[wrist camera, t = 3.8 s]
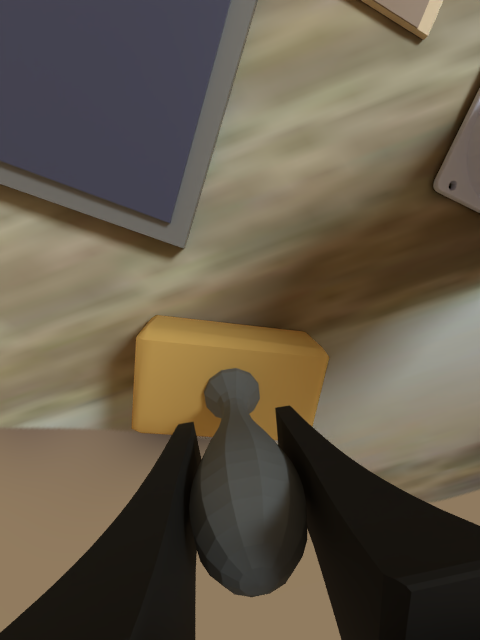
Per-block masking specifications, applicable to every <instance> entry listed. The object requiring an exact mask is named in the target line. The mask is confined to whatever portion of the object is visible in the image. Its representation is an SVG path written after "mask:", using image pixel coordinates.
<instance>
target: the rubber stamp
mask: <svg viewBox="0 0 480 640" xmlns="http://www.w3.org/2000/svg"><path fill="white" fill-rule="evenodd" d="M328 360H329V356H328V355H327V353H326V352H325V351H324V349H323V348H322V347H321V346H320V345H319V344H318V343H317V342H316V341H315V340H313V339H312V338H311V337H310V336H309V335H308V334H307V333H306V332H303V331H294V330H285V329H277V328H268V327H259V326H250V325H241V324H232V323H223V322H214V321H205V320H196V319H187V318H178V317H169V316H161V315H156V316H154V317H153V318H151V319H150V321H149V322H148V323H147V324H146V326H145V327H144V328H143V329H142V330H141V332H140V333H139V334H138V335H137V337H136V351H135V371H134V390H133V410H132V429H134V430H136V431H138V432H140V433H152V434H171V435H172V434H173V432H174V430H175V428H176V427H177V425H178V424H182V423H188V422H194V426H195V431H196V436H208V437H213V438H212V439H211V441H210V443H209V445H208V447H207V449H206V451H205V454H204V456H203V458H202V460H201V462H200V464H199V467H198V469H197V471H196V474H195V477H194V480H193V484H192V488H191V492H190V503H189V510H190V521H191V527H192V531H193V536H194V540H195V545H196V548H197V551H198V555H199V558H200V561H201V563H202V564H203V566H204V567H205V569H206V570H207V572H208V573H209V575H210V576H211V577H213V578H214V579H215V580H216V581H218V582H219V583H220V584H221V585H223V586H224V587H225V588H227V589H228V590H229V591H231V592H232V593H234V594H236V595H242V596H248V597H255V596H259V595H264V594H269V593H271V592H273V591H274V590H276V589H277V588H279V587H280V586H282V585H283V584H285V583H286V581H287V580H288V578H289V577H290V576H291V574H292V573H293V571H294V569H295V568H296V566H297V564H298V563H299V561H300V560H301V558H302V556H303V553H304V549H305V545H306V542H307V512H306V500H305V494H304V489H303V485H302V482H301V480H300V477H299V474H298V472H297V470H296V469H295V467H294V465H293V463H292V462H291V460H290V459H289V458H288V456H287V455H286V454H285V453H284V451H283V450H282V449H281V448H280V447H279V446H278V445H277V444H276V442H275V441H274V440H278V435H277V424H276V412H275V408H277V407H283V406H289V405H290V406H291V407H292V408H293V409H294V410H295V411H296V412H297V413H298V414H299V415H300V416H301V417H302V418H303V419H304V420H305V421H306V422H308V423H309V424H310V425H311V426H313V421H314V417H315V413H316V409H317V405H318V401H319V397H320V393H321V389H322V385H323V381H324V377H325V373H326V369H327V365H328Z"/></svg>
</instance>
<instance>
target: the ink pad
mask: <svg viewBox="0 0 480 640" xmlns="http://www.w3.org/2000/svg"><path fill="white" fill-rule="evenodd" d="M257 1H258V0H0V184H2V185H5V186H8V187H11V188H13V189H16V190H19V191H22V192H25V193H28V194H30V195H33V196H36V197H39V198H42V199H45V200H47V201H50V202H53V203H56V204H59V205H62V206H64V207H67V208H70V209H73V210H76V211H79V212H81V213H84V214H87V215H90V216H93V217H96V218H98V219H101V220H104V221H107V222H110V223H113V224H116V225H118V226H121V227H124V228H127V229H130V230H133V231H135V232H138V233H141V234H144V235H147V236H150V237H152V238H155V239H158V240H161V241H164V242H167V243H169V244H172V245H175V246H178V247H181V248H185V246H186V243H187V239H188V236H189V233H190V229H191V226H192V222H193V219H194V216H195V212H196V209H197V205H198V202H199V199H200V195H201V192H202V188H203V185H204V182H205V178H206V175H207V171H208V168H209V164H210V161H211V158H212V154H213V151H214V147H215V144H216V141H217V137H218V134H219V130H220V127H221V124H222V120H223V117H224V113H225V110H226V107H227V103H228V100H229V96H230V93H231V90H232V86H233V83H234V79H235V76H236V72H237V69H238V66H239V62H240V59H241V55H242V52H243V49H244V45H245V42H246V38H247V35H248V32H249V28H250V25H251V21H252V18H253V15H254V11H255V8H256V4H257Z"/></svg>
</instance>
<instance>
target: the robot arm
mask: <svg viewBox="0 0 480 640" xmlns="http://www.w3.org/2000/svg"><path fill="white" fill-rule="evenodd" d="M450 183H451V189H449V184H450ZM433 187H434V190H435V191H436V192H438V193H440V194H442V195H444V196H446V197H448V198H450V199H452V200H454V201H456V202H458V203H460V204H462V205H464V206H466V207H468V208H470V209H472V210H474V211H476V212H478V213H480V88H479V90H478V92H477V95H476V97H475V99H474V101H473V103H472V105H471V107H470V109H469V111H468V113H467V115H466V117H465V119H464V121H463V123H462V125H461V127H460V129H459V131H458V133H457V135H456V137H455V139H454V141H453V143H452V145H451V148H450V150H449V152H448V154H447V156H446V158H445V160H444V162H443V164H442V166H441V168H440V170H439V172H438V174H437V176H436V178H435V180H434V183H433ZM275 412H276V424H277V435H278V446H279V447H280V448H281V449H282V450H283V451H284V453H285V454H286V455H287V456H288V458H289V459H290V460H291V462H292V463H293V465H294V467H295V469H296V470H297V472H298V474H299V477H300V480H301V482H302V485H303V489H304V494H305V500H306V512H307V529H308V531H309V534H310V537H311V540H312V542H313V545H314V548H315V552H316V555H317V558H318V561H319V565H320V568H321V571H322V574H323V578H324V581H325V585H326V588H327V591H328V595H329V598H330V601H331V605H332V608H333V612H334V615H335V619H336V622H337V626H338V629H339V633H340V636H341V640H480V526H478V525H476V524H474V523H472V522H469V521H467V520H465V519H462V518H460V517H457V516H455V515H453V514H450V513H448V512H446V511H443V510H441V509H439V508H437V507H435V506H433V505H431V504H429V503H427V502H425V501H422V500H420V499H418V498H416V497H414V496H412V495H411V494H409V493H407V492H405V491H403V490H401V489H399V488H397V487H396V486H394V485H392V484H390V483H389V482H387V481H385V480H383V479H382V478H380V477H378V476H377V475H375V474H373V473H372V472H370V471H369V470H367V469H366V468H364V467H363V466H361V465H360V464H358V463H357V462H355V461H354V460H352V459H351V458H349V457H348V456H347V455H345V454H344V453H343V452H342V451H340V450H339V449H338V448H336V447H335V446H334V445H333V444H331V443H330V442H329V441H328V440H327V439H325V438H324V437H323V436H322V435H321V434H320V433H318V432H317V431H316V430H315V429H314V428H313V427H312V426H311V425H310V424H309V423H308V422H306V421H305V420H304V419H303V418H302V417H301V416H300V415H299V414H298V413H297V412H296V411H295V410H294V409H293V408H292V407H291V406H290V405H289V406H283V407H277V408H275ZM200 462H201V456H200V451H199V446H198V441H197V436H196V431H195V426H194V422H188V423H182V424H178V425H177V427H176V428H175V430H174V432H173V434H172V436H171V438H170V440H169V442H168V443H167V445H166V447H165V449H164V450H163V452H162V454H161V455H160V457H159V459H158V460H157V462H156V464H155V465H154V467H153V468H152V470H151V472H150V473H149V474H148V476H147V477H146V479H145V480H144V482H143V483H142V485H141V486H140V488H139V489H138V491H137V492H136V493H135V495H134V496H133V497H132V499H131V500H130V501H129V503H128V504H127V505H126V507H125V508H124V509H123V510H122V512H121V513H120V514H119V515H118V517H117V518H116V519H115V520H114V522H113V523H112V524H111V525H110V526H109V527H108V529H107V530H106V531H105V532H104V533H103V534H102V536H100V538H99V539H98V540H97V541H96V542H95V543H94V544H93V546H92V547H91V548H90V549H89V550H88V551H87V552H86V553H85V554H84V555H83V556H82V557H81V558H80V559H79V560H78V561H77V562H76V563H75V564H74V565H73V566H72V567H71V568H70V569H69V570H68V571H67V572H66V573H65V574H64V575H63V576H62V577H61V578H60V579H59V580H58V581H57V582H56V583H55V584H54V585H53V586H52V587H51V588H50V589H48V590H47V591H46V592H45V593H44V594H43V595H42V596H41V597H40V598H39V599H38V600H37V601H35V602H34V603H33V604H32V605H31V606H30V607H29V608H28V609H26V610H25V612H23V613H22V614H21V615H20V616H19V617H18V618H17V619H15V620H14V621H13V622H12V623H11V624H10V625H9V626H7V627H6V628H5V629H4V630H3V631H2V632H1V633H0V640H195V581H196V577H195V576H196V574H195V572H196V553H197V548H196V545H195V540H194V536H193V531H192V527H191V521H190V510H189V503H190V492H191V488H192V484H193V480H194V477H195V474H196V471H197V469H198V467H199V464H200Z"/></svg>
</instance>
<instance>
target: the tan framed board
mask: <svg viewBox="0 0 480 640" xmlns="http://www.w3.org/2000/svg"><path fill="white" fill-rule="evenodd" d="M361 1H362V2H364V3H366V4H367V5H369V6H370V7H372V8H374V9H375V10H377V11H378V12H380V13H382V14H383V15H385V16H386V17H388V18H390V19H391V20H393V21H394V22H396V23H398V24H399V25H401V26H402V27H404V28H405V29H407V30H409V31H410V32H412V33H413V34H415V35H417V36H418V37H420V38H421V39H423V40H424V39H425V38H426V37H427V36H428V35H429V33H430V30H431V28H432V26H433V23H434V21H435V19H436V16H437V14H438V12H439V9H440V7H441V5H442V3H443V0H361Z"/></svg>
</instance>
